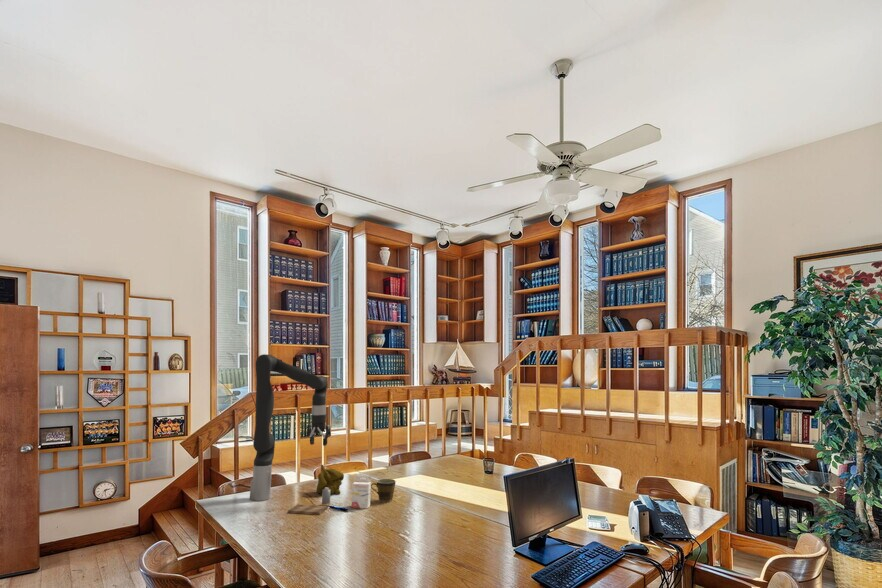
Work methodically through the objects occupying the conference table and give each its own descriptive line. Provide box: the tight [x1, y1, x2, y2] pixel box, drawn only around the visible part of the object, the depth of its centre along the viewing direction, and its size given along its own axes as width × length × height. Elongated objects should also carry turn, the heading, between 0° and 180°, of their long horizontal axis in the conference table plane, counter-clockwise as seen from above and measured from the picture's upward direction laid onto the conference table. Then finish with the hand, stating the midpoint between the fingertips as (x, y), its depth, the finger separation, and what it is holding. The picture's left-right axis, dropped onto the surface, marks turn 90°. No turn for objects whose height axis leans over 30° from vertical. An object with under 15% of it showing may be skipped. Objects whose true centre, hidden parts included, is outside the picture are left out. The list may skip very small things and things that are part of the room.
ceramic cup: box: [371, 478, 397, 504], centre depth 250 cm, size 13×10×10 cm
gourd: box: [315, 464, 345, 495], centre depth 264 cm, size 14×14×14 cm
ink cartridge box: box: [351, 474, 372, 509], centre depth 240 cm, size 9×5×15 cm, turn 84°
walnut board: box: [287, 503, 329, 516], centre depth 231 cm, size 16×10×1 cm, turn 82°
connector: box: [321, 487, 331, 507], centre depth 241 cm, size 4×4×9 cm
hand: (318, 444), depth 253 cm, fingers open, 8 cm apart
